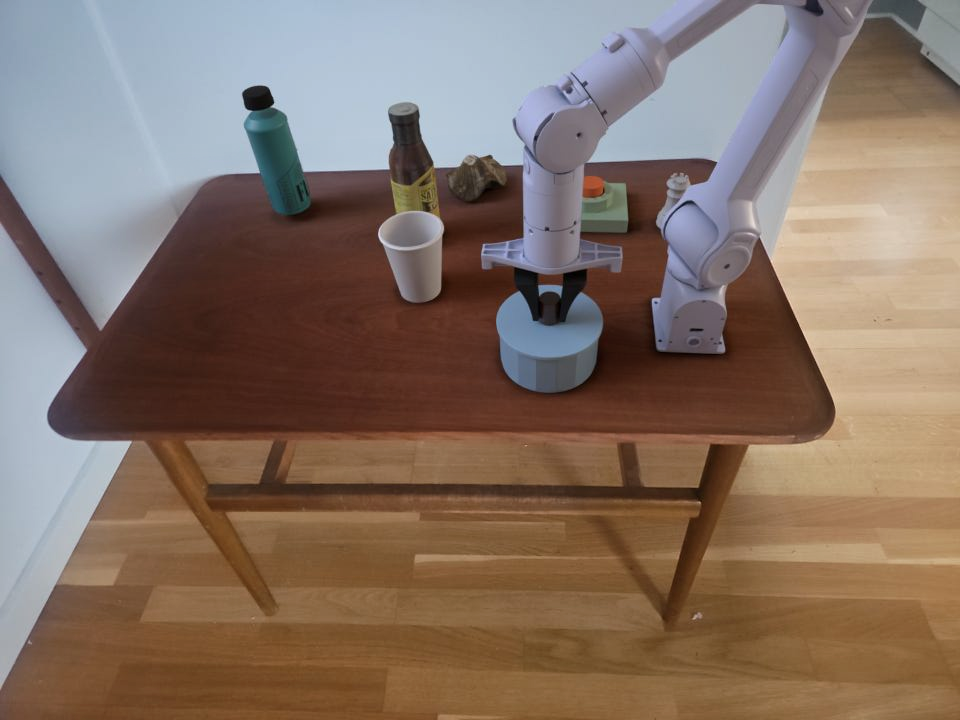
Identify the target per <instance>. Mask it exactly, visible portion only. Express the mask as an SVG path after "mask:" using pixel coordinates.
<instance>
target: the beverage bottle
mask: <svg viewBox="0 0 960 720" xmlns="http://www.w3.org/2000/svg"><path fill="white" fill-rule="evenodd" d="M241 97H242V99H243V105H244V108H245V110H247V111H250V112H249V114H248V115H247V117H246V118H245V120H244V122H243V128H244V130H245V133H246V136H247V139H248V141H249V144H250V148H251V149H252V153H253V155H254V158H255V161H256V162H255V163H256V165H257V169H258V173H259V175H260V177H261V181H262V185H263V186H264V189H265V192H266V196H267V198H268V201H269V205H270V206H271V208H272V209H273V210H274V211H275V213H277V214H279V215H283V216H292V215H293V216H294V215H297V214H300V213H302V212H304V211H306V210H307V209H308V208H309V207H310V205H311V204H312V195H311V191H310V187H309V184H308V180H307V179H306V178H307V177H306V175H305V174H304V172H305V171H304V167H303V164H302V162H301V159H300V157H299V153H298V148H297V145H296V143H295V139H294V136H293V135H292V131H291V127H290V123H289V121H288V120H289V119H288V116H287V115H286V113H285V112H283V111H282V110H279V109H278V108H275V107H273V106H274V104H275V99H274V96H273V94H272V91H271V89H270V88H269V86H266V85H262V84H261V85H260V84H259V85H252V86H250V87H247V88H246V89H244V90H243V91H242V93H241Z"/></svg>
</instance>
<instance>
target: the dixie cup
mask: <svg viewBox="0 0 960 720" xmlns="http://www.w3.org/2000/svg"><path fill="white" fill-rule="evenodd" d="M444 232H445V225H444V223H443V220H442V219H441V218H440V219H439V218H438V217H437V216H435V215H433V214H431V213H428V212H423V211H408V212H403V213H399V214H396V213H395V215H392V216H391V217H389V218H388V219H386V220H385V221H384V222H383V223H382V224H381V225H380V227H379V229H378V233H377V234H378V235H377V236H378V239H379V241H380V243H381V244H382V245H383V249H384V251H385V254H386V256H387V259H388V262H389V265H390V268H391V270H392V273H393V276H394V279H395V282H396V284H397V287H398V289H399V293H400V295H401V297H402V298H403V299H404V300H406V301H408V302H410V303H415V304H421V303H426V302H429V301H432V300H434V299H435V298H436V297H437V296H439V294H440V293H441V291H442V290H441V289H442V262H443V261H442V260H443V234H444Z"/></svg>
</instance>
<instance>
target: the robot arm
mask: <svg viewBox="0 0 960 720" xmlns="http://www.w3.org/2000/svg"><path fill="white" fill-rule="evenodd" d="M873 1H874V0H676V1H675V2H674V3H673V4H672V5H671V6H669V7H668V8H667V9H666V10H665V11H664V12H663V13H662V14H661V15H659V17H658V18H656V19H655V20H654V21H653V22H652V23H651V24H650V25H649V26H647V27H644V28H643V27H642V28H641V27H625V28H623V29H622V30H621V31H619V32H618V33H616V32H615V31H611V32H610V33H609V34H607V35H606V36H605V37H604V38H602V39H601V45H602V46H601V47H600V48H598V50H596V51H594V52H593V54H591V55H590V56H589V57H587V58H586V59H584V61H583V62H581V63H579V65H577V66H576V67H575V68H574V69H573V70H571V71H570V72H569V73H568V74H562V75H561V76H560V77H559V78H557V79H555V84H549V85H547V86H546V87H545V86H544V85H543V86H539V87H538V88H536V89H534V90H533V91H531V92H529V94H527V95H526V97H525V98H524V99H523V100H522V101H521V103H520V107H519V108H518V109H517V112H516V116H514V117H513V118H512V121H511V122H512V128H513V130H514V132H515V134H516V135H517V137H518V138H519V139H520V140H521V142H523V144H524V146H523V147H522V156H523V157H522V158H523V164H522V167H523V168H522V169H523V171H522V206H523V207H522V209H523V210H522V213H523V214H522V216H523V217H522V218H523V219H522V220H523V223H522V224H523V237H522V238H517V239H513V240H507V241H502V242H496V243H483V244H482V249H481V254H480V256H481V257H480V258H481V270H492V269H493V267H495V266H496V267H499V266H500V267H513V284H514V286H515V288H516V289H517V290H518V292H519V291H520V292H521V294H522V295H523V297H524V298H525V300H526V302H527V304H528V306H529V309H530V311H531V315H532V320H533V321H539V287H538V286H539V274H541V275H547V276H554V275H562V285H561V286H562V293H561V302H560V318H559V322H566V317H567V314H568V311H569V309H570V307H571V305H572V303H573V301H574V300H575V298H576V297H577V296H578V295H579V293H580V292H583V291H584V289H585V287H586V286H587V281H588V269H609V271H610V273H616V274H617V273H619V274H620V273H621V272H622V264H623V247H622V246H618V245H608V244H604V243H598V242H594V241H590V240H585V239H582V238H581V232H580V228H581V211H582V195H583V180H584V177H585V164H587V163H588V162H589V161H590V160H591V159H592V157H593V155H594V154H595V152H596V150H597V149H598V145H599V143H600V140H601V139H602V138H603V137H604V136H606V135H607V131H609V127H611V126H612V125H613V124H615V123H616V122H617V121H618V120H620V119H621V118H622V117H624V116H625V115H626V114H627V113H629V112H630V111H632V110H633V109H634V108H635V107H637V106H639V104H641V103H642V102H643V101H644V100H645V99H647V98H648V97H650V96H651V95H652V94H654V93H655V92H656V91H657V90H659V89H660V88H662V86H663V85H664V83H665V79H666V76H667V71H668V68H669V66H670V63H672V62H673V61H674V60H676V59H678V58H679V57H680V56H681V55H683V54H684V53H686V52H687V51H689V50H690V49H692V48H693V47H695V46H696V45H698V44H699V43H701V42H702V41H704V40H705V39H706V38H708V37H710V36H711V35H712V34H714V33H716V31H719V30H720V29H722V28H723V27H724V26H726V25H727V24H728V23H730V22H731V21H733V20H734V19H736V18H737V17H739V16H740V15H742V14H743V13H744V12H746V11H747V10H749V9H751V8H752V7H754V6H755V5H770V6H771V5H772V6H773V5H774V6H782V7H783V9H784V13H785V17H786V19H787V20H786V21H787V23H788V31H787V33H786V35H785V37H784V38H783V40H782V42H781V44H780V46H779V48H778V49H777V51H776V53H775V55H774V57H773V59H772V61H771V62H770V65H769V66H768V68H767V70H766V72H765V74H764V75H763V77H762V79H761V81H760V82H759V85H758V87H757V88H756V90H755V92H754V94H753V96H752V98H751V100H750V102H749V103H748V105H747V107H746V109H745V110H744V113H743V115H742V116H741V118H740V120H739V122H738V123H737V126H736V127H735V129H734V131H733V133H732V135H731V137H730V138H729V141H728V142H727V144H726V146H725V147H724V149H723V152H722V154H721V156H720V157H719V159H718V161H717V163H716V164H715V166H714V168H713V170H712V172H711V174H710V176H709V177H708V179H707V181H703V182H699V183H696V184H691V185H690V186H689V187H687V189H686V191H685V193H684V195H683V197H682V198H681V199H680V201H679V202H678V203H677V204H676V205H675V206H674V207H673V208H672V209H671V210H670V211H669V212H668V213H667V215H666V216H665V218H664V220H663V222H662V226H661V229H660V233H661V236H662V239H663V240H664V241H665V242H666V244H668V246H667V251H666V253H667V255H668V257H667V263H666V266H665V272H664V278H663V282H662V288H661V293H660V297H652V298H651V309H652V310H651V311H652V320H653V329H654V338H655V339H654V341H655V349H656V351H658V352H662V353H686V354H687V353H688V354H690V353H691V354H712V355H716V354H717V355H723V354H725V352H726V346H725V341H724V337H723V331H724V328H725V324H726V321H727V317H728V311H727V307H726V293H727V290H728V286H729V284H731V283H733V282H734V281H735V280H737V279H738V278H739V277H740V276H742V274H743V273H745V271H746V269H748V267H749V265H750V263H751V260H752V257H753V252H754V251H753V250H754V247H755V245H756V243H757V241H758V239H759V238H760V237H761V235H762V229H761V224H760V218H759V214H758V213H759V212H758V208H757V201H758V200H759V198H760V196H761V195H762V193H763V191H764V190H765V188H766V186H767V185H768V183H769V181H770V180H771V179H772V177H773V175H774V173H775V172H776V170H777V168H778V167H779V165H780V163H781V162H782V160H783V158H784V157H785V155H786V153H787V152H788V150H789V148H790V147H791V145H792V144H793V142H794V140H795V138H796V137H797V135H798V134H799V132H800V130H801V129H802V127H803V126H804V124H805V122H806V121H807V119H808V117H809V115H810V114H811V112H812V110H813V109H814V107H815V105H816V104H817V102H818V100H819V99H820V97H821V96H822V94H823V92H824V91H825V89H826V87H827V86H828V84H829V82H830V81H831V79H832V77H833V76H834V74H835V72H836V71H837V69H838V68H839V66H840V64H841V62H842V61H843V59H844V57H845V56H846V54H847V52H848V51H849V49H850V47H851V46H852V44H853V43H854V41H855V39H856V38H857V36H858V35H859V33H860V30H861V29H862V27H863V25H864V22H865V19H866V16H867V13H868V10H869V8H870V6H871V4H873V3H872V2H873Z"/></svg>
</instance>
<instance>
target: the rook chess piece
mask: <svg viewBox="0 0 960 720" xmlns="http://www.w3.org/2000/svg"><path fill="white" fill-rule="evenodd" d="M666 185H667V187H668V190H666V195H667V196H666V199H665V200H666V201H665V202H664V203H665V204H664V206H663V207H662V208H661V210H660V211H659V212H658V214H657V218H656V220H655V223H656V226H657V227H658V229H659V230H661V226H662V222H663V220H664V218H665V216H666V215H667V213H668V212H669V211H670V210H671V209H672V208H673V207H674V206H675V205H676V204H677V203H678V202H679V201H680V199H681V198H682V197H683V195H684V193H685V191H686V189H687V187H689V186H691V185H692V184H691V181H690V178H689V175H688V174H686V175H685V173H683V172H680V173H679V175H678V172H675V173H673V174H672V175H670V178H669V179H667V180H666Z"/></svg>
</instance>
